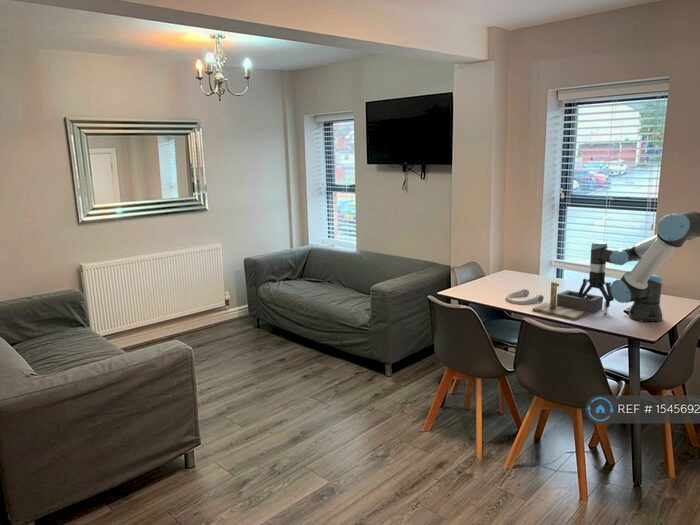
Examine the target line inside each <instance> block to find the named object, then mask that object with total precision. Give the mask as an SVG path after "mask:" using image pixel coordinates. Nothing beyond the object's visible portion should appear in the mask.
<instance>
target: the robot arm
mask: <svg viewBox="0 0 700 525" xmlns="http://www.w3.org/2000/svg"><path fill="white" fill-rule="evenodd" d="M656 231H657V232H656V235H653V236H650V237H649V238H647V239H645V240H643V241H640V242H638V243H636V244H634V245H632V246H628V247H621V248H620V247H618V248H612V247H608V243H607V242H604V241H594V242H592V243H591V247H590V264H589V270H590V271H589V273H588V274H589V276H588V278H587V277H585V278H583V279H582V284H581V286H580V288H579V291H578V292H579V293H578V295H580V296H581V297H582V298H586V299H587V296H586V294H589V292H590V291H591V290H592V289H597V290H598V289H599V291H600V292H601V294H602V297H603V299H604V300H603V302H604V303H603V314H607V313H608V309H609V307H610V306H611V304H610V302H612V301H614V300H615V301H617V303H621V304H624V303H625V304H627V303H632V304H631V307H630V309H629V312H628V317H629V316H630V317H631V318H630V317H629V318H630V319H632V318H634V319H637V320H636V321H638V320H642V321H641V322H643V321H652V322H651V323H656V322H655V321H659V322H662V321H663V311H662V308H661V294H662V286H663V278H662V277H661V276H660V275H657V274H655V273H656V272H657V270H658V269H660V267H661V266H662V264H663V263H664V262H665V261H666V260H667V258H669V256H670V255H671V254H672V252H674V250H675V249H676V248H677V249H678V248H681V247H682V246H683V245H684V244H685V243H686V241H691V240H694V239H696V238H699V237H700V211H689V212H688V211H687V212H673V213H670V214H667V215H664V216H663V217H662V218H661V219H660V220H659V222H658V224H657V229H656ZM630 262H637V263H636V264H635V266H634V267H633V268H632V269H631V271H629V270H628V271H626V272H625V273H624V274H623V275H622V277H621V278H620V279H616V280H614V281H612V282H610V281H605V279H606V268H607V267H606V264H607V263H608V264H613V265H616V266H617V265H618V266H624V265H625V264H626V263H630ZM588 283H589V285H588V286H587V284H588ZM604 285H605V286H604ZM586 286H587V288H586ZM605 287H606V288H605ZM634 319H633V320H634ZM661 320H662V321H661Z"/></svg>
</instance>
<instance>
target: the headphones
mask: <svg viewBox="0 0 700 525" xmlns="http://www.w3.org/2000/svg"><path fill="white" fill-rule="evenodd" d="M529 295H530V290H528V289H527V288H522V289H521V290H518V291H515V292H512V293H509V294H508V295H507V296H506V301H507V302H509V303H511V302H512V303H513V304H515V303H517V305H532V303H534V304H539V303H538V302H540V303H543V301H544V295H543V294H537V295H536V296H535V297H532V298H529V299H526V300H514V299H513V297H514V298H522V297H521V296H524V297H528V296H529ZM509 298H510V299H509Z"/></svg>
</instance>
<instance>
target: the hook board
mask: <svg viewBox="0 0 700 525" xmlns="http://www.w3.org/2000/svg"><path fill="white" fill-rule="evenodd" d="M558 287H560V283H558V282H557V281H551V282H550V299H549V300H550V301H549V302H545V303H542V304H539V305H537V306H535V307H532V309H531V310H532V311H533V312H536V313H540V312H541V314H545V315H549V316H553V317H557V316H558V318H563V319H567V320H571V321H577V320H580V319H581V318H583V317H585V315H586V316H588V315H589V313H588V312H587V311H582V310H577V309H573V308H568V307H563V306H558V305H557V294H558V293H557V292H558V291H557V290H558ZM587 314H588V315H587ZM582 316H583V317H582ZM580 317H581V318H580ZM576 319H577V320H576Z"/></svg>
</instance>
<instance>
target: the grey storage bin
mask: <svg viewBox="0 0 700 525" xmlns="http://www.w3.org/2000/svg"><path fill="white" fill-rule="evenodd" d="M578 293H579V291H576V290H575V291H574V290H569V289H568V290H564V291H562V292H559V293H557V296H556V305H558V306H563V307H568V308H573V309H577V310H582V311H587V312H588V314H590V313H593V314H594V312H595V313H596V311H597V312H599V311H601V310H602V309H603V306H604V303H603V302H604V296H603V295H602V296H601V295H596V294H591V293H587V294H586V296H587V299H586V298H582V297H581V296H580V295H578ZM598 310H599V311H598Z"/></svg>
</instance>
